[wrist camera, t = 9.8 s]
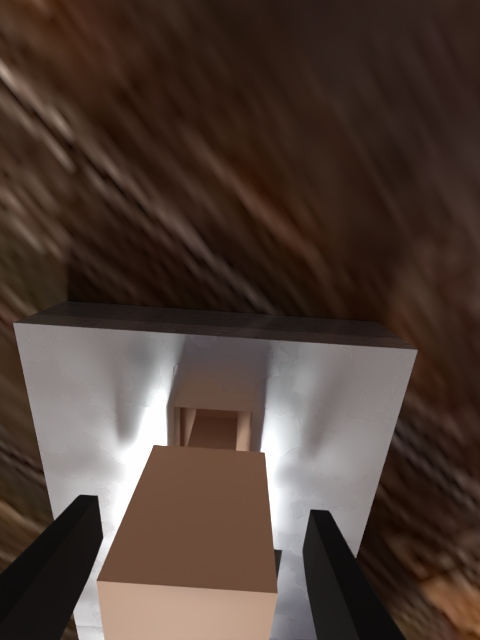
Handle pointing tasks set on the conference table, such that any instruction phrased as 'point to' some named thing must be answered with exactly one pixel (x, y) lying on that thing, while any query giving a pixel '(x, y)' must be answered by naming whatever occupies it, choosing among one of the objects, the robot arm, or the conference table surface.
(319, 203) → the conference table surface
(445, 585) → the conference table surface
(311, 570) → the robot arm
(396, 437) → the conference table surface
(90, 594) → the keyhole plate
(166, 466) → the headed stud
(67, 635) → the conference table surface
